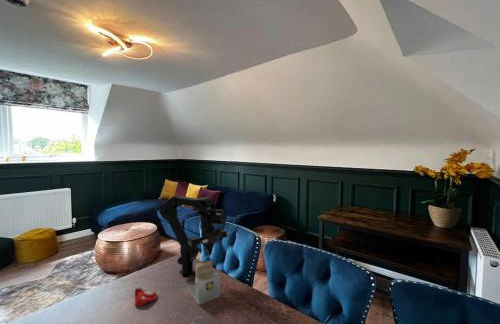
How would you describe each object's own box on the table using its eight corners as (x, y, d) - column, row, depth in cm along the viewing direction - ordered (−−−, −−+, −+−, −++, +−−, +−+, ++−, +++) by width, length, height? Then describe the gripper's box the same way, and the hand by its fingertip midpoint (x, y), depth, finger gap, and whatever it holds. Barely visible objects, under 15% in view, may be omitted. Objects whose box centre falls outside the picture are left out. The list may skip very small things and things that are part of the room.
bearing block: (186, 287, 109) (186, 267, 108) (206, 280, 114) (206, 262, 114) (198, 305, 97) (198, 282, 96) (220, 296, 102) (220, 275, 102)
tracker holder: (162, 291, 105) (151, 299, 95) (159, 301, 104) (147, 311, 94) (137, 283, 106) (124, 290, 96) (134, 293, 105) (120, 302, 96)
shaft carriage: (195, 293, 103) (195, 264, 102) (210, 287, 107) (210, 260, 106) (203, 303, 96) (203, 272, 95) (218, 297, 100) (218, 268, 99)
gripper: (194, 231, 103) (197, 266, 103) (231, 222, 113) (234, 253, 113) (186, 226, 112) (189, 258, 112) (221, 218, 123) (223, 247, 123)
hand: (209, 254), depth 115 cm, fingers closed
